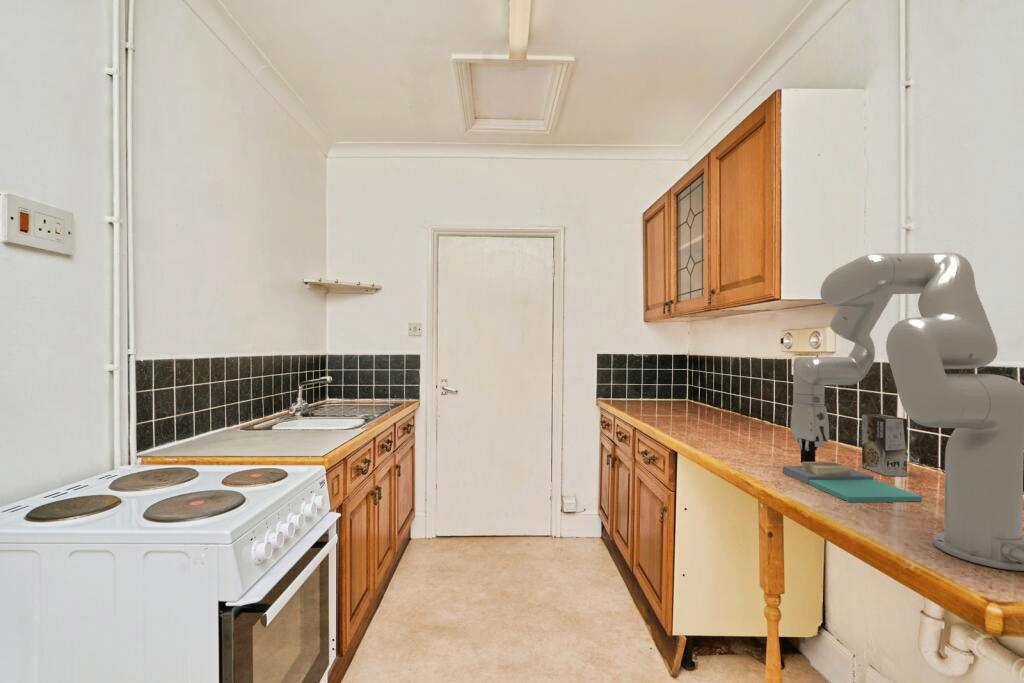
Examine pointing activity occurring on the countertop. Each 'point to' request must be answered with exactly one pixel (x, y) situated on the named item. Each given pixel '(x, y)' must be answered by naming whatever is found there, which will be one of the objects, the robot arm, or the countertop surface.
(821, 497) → the countertop surface
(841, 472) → the tile
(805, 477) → the board
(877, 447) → the coffee box
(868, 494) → the mat
